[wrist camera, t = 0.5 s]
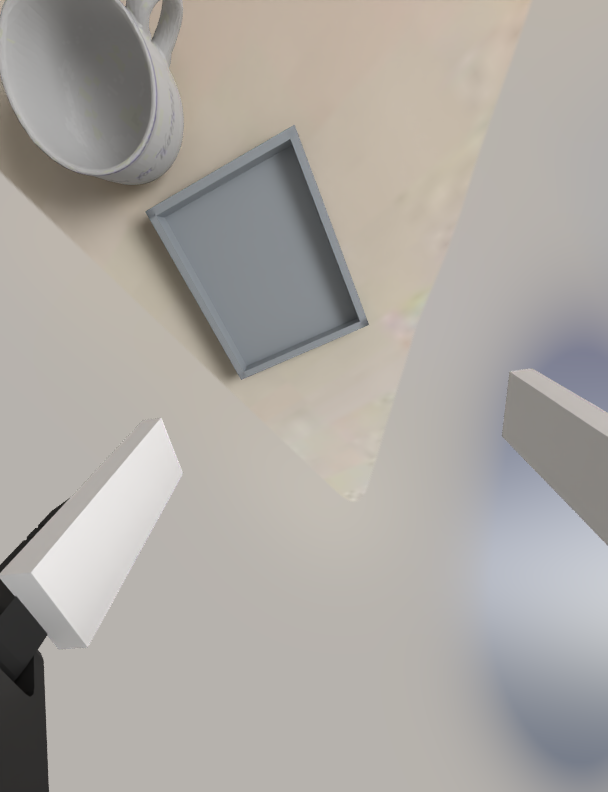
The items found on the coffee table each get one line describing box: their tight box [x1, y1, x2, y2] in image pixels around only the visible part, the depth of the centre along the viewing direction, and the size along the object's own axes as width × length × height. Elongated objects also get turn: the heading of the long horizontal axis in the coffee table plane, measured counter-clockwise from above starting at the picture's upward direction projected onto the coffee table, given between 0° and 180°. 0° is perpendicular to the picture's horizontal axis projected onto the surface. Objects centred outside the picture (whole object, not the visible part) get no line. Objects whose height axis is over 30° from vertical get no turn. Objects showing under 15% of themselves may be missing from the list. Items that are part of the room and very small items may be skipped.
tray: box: [145, 125, 369, 380], centre depth 33 cm, size 18×15×2 cm
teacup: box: [0, 0, 184, 185], centre depth 25 cm, size 14×11×8 cm
